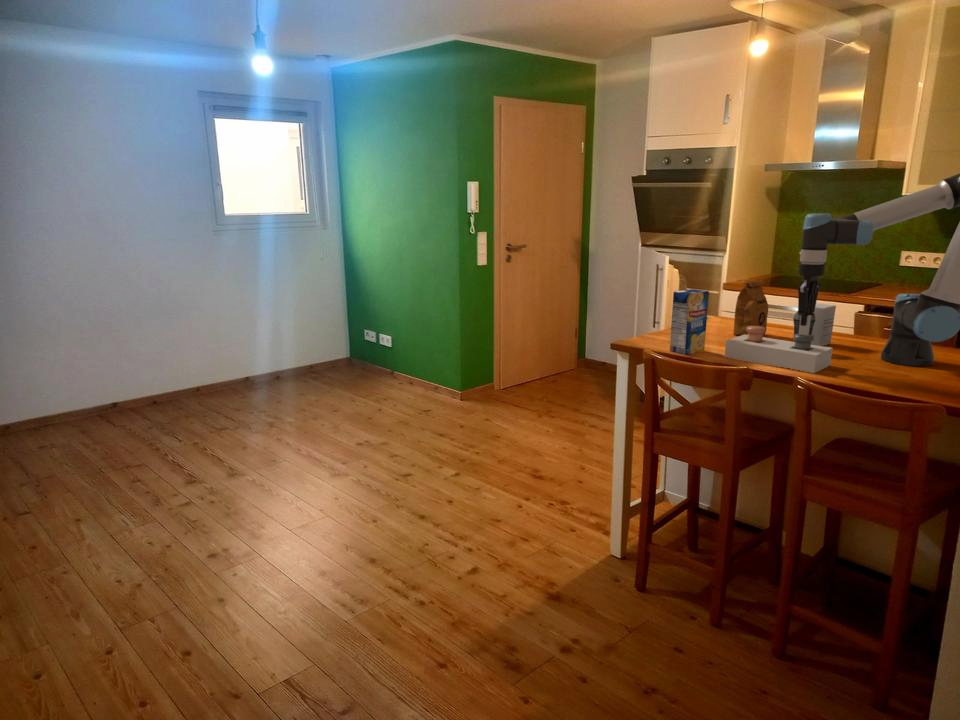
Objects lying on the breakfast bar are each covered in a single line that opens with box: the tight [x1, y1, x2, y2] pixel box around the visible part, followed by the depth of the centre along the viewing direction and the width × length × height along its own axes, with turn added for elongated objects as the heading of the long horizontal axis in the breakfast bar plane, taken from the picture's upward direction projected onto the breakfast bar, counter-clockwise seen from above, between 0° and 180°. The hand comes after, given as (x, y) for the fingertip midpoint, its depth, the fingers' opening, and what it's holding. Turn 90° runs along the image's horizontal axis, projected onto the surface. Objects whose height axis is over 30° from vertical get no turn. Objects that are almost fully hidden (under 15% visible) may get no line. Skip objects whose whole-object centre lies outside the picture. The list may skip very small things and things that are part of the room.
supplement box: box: [811, 302, 837, 347], centre depth 245 cm, size 9×9×15 cm
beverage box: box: [669, 288, 710, 356], centre depth 234 cm, size 7×11×22 cm, turn 124°
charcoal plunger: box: [792, 333, 814, 351], centre depth 214 cm, size 6×6×6 cm
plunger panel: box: [724, 334, 833, 374], centre depth 221 cm, size 30×14×6 cm, turn 43°
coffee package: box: [733, 279, 769, 336], centre depth 259 cm, size 10×12×22 cm
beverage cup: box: [792, 310, 816, 342], centre depth 233 cm, size 7×7×20 cm
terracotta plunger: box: [746, 326, 766, 343], centre depth 226 cm, size 6×6×6 cm
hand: (803, 334), depth 214 cm, fingers closed
